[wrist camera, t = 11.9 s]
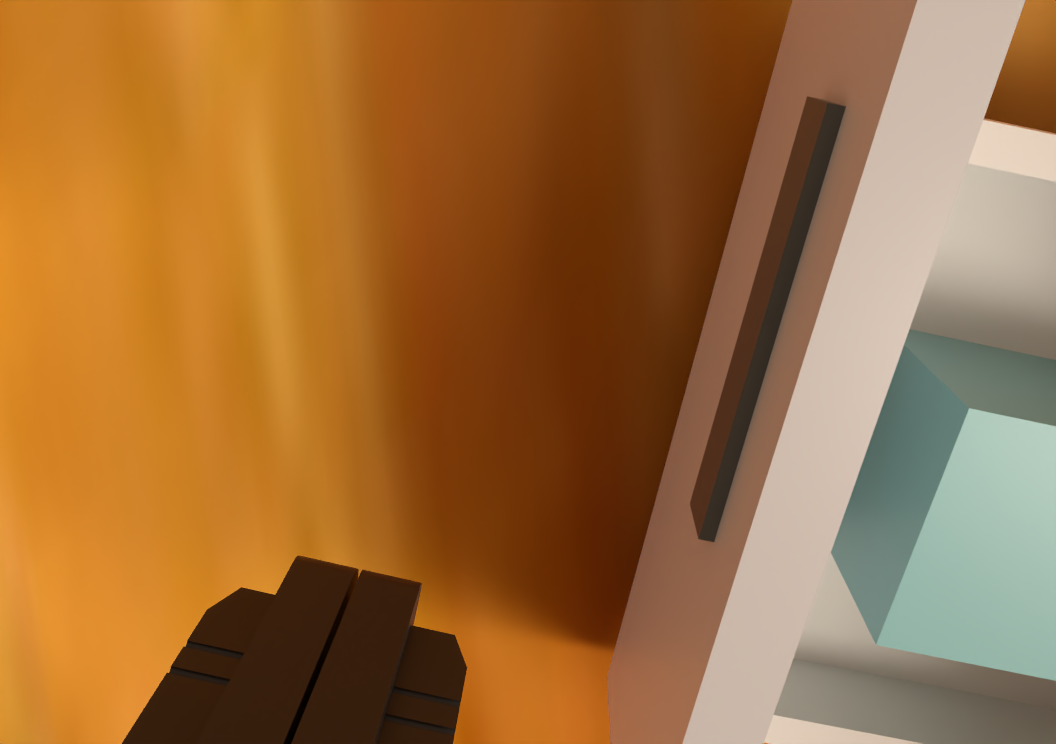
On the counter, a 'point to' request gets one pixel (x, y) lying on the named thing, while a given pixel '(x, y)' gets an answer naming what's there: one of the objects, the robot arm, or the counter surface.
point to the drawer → (836, 385)
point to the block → (959, 509)
